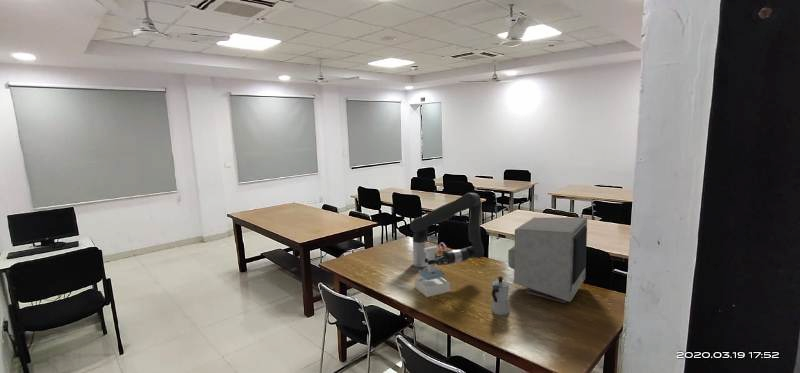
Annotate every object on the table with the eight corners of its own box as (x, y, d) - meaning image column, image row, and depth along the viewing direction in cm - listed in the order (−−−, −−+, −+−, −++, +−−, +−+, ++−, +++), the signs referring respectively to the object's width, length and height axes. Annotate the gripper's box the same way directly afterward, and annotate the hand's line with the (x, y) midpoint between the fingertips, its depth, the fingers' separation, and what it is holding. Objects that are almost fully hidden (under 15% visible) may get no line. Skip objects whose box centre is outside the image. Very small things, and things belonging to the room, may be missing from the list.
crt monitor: (573, 312, 181) (575, 233, 175) (500, 294, 204) (500, 223, 198) (587, 287, 209) (590, 217, 203) (522, 273, 231) (522, 211, 225)
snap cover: (418, 273, 216) (417, 246, 213) (435, 270, 220) (434, 243, 217) (427, 280, 206) (426, 251, 203) (444, 276, 210) (444, 248, 207)
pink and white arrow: (458, 260, 268) (438, 250, 283) (459, 259, 269) (439, 249, 283) (459, 251, 267) (439, 241, 281) (461, 251, 267) (440, 241, 282)
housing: (414, 287, 218) (414, 278, 217) (437, 282, 224) (436, 273, 223) (427, 297, 204) (426, 288, 203) (450, 291, 210) (450, 282, 209)
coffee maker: (497, 304, 192) (497, 271, 190) (514, 308, 187) (514, 274, 184) (484, 315, 181) (484, 280, 179) (501, 320, 176) (501, 285, 173)
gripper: (446, 247, 223) (420, 252, 216) (459, 254, 210) (432, 259, 203) (446, 259, 224) (421, 264, 217) (459, 266, 211) (432, 272, 205)
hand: (426, 261), depth 210 cm, fingers closed on snap cover, 3 cm apart
